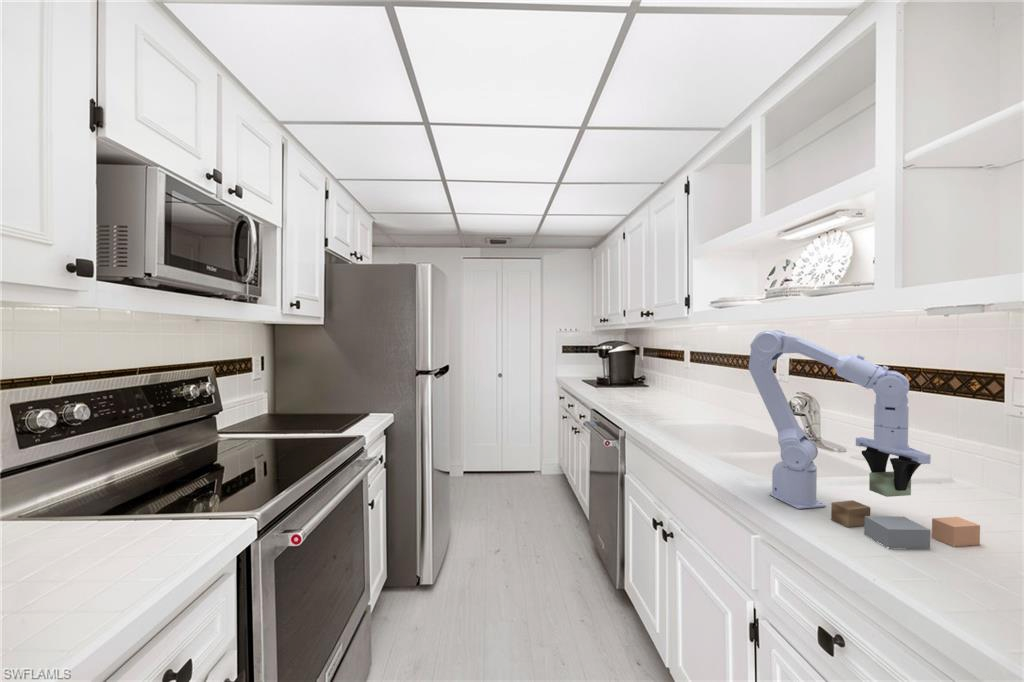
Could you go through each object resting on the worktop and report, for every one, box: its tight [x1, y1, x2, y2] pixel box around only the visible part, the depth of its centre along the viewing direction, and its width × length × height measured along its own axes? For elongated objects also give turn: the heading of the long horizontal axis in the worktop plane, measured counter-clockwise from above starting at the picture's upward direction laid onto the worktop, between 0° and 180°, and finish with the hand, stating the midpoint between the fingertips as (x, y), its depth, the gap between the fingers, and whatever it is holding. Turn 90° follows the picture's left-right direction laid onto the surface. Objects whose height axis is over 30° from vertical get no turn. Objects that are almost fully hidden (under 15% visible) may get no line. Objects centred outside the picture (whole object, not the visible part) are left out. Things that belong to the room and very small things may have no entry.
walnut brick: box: [830, 499, 872, 528], centre depth 96 cm, size 4×6×4 cm, turn 102°
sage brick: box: [868, 471, 912, 498], centre depth 95 cm, size 4×6×4 cm, turn 97°
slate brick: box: [863, 515, 931, 550], centre depth 87 cm, size 6×8×4 cm
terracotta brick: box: [931, 516, 981, 548], centre depth 87 cm, size 4×6×4 cm, turn 97°
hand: (889, 486), depth 95 cm, fingers closed on sage brick, 4 cm apart
